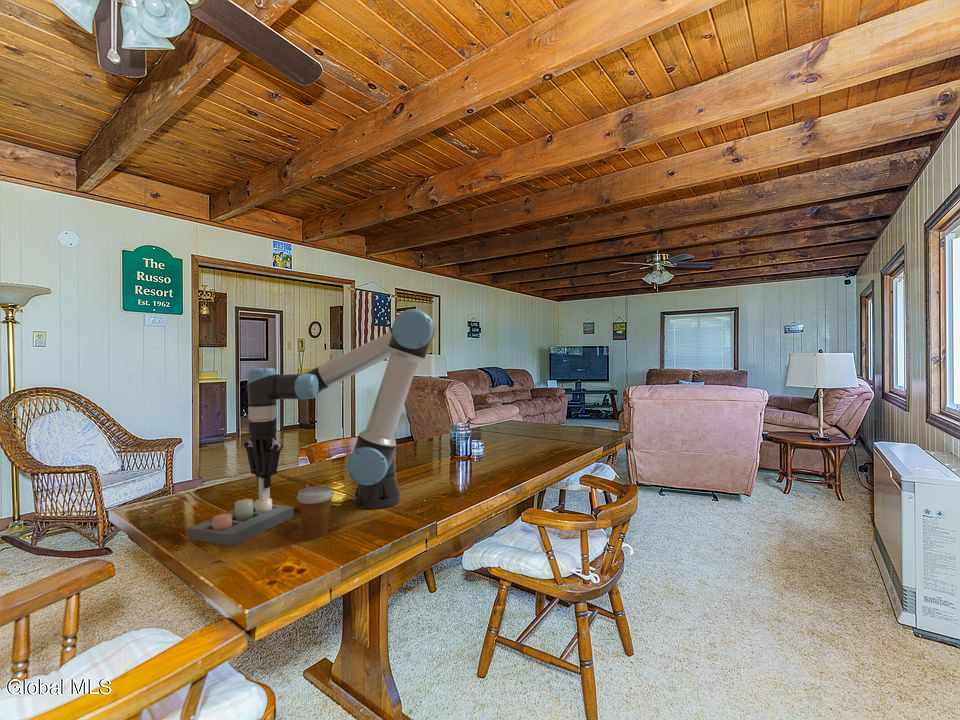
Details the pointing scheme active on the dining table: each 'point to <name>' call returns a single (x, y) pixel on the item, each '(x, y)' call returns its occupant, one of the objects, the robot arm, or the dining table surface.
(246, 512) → the sage button
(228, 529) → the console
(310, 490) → the disposable coffee cup
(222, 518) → the terracotta button
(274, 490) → the dining table surface
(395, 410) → the robot arm
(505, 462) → the dining table surface
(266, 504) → the cream short cylinder
